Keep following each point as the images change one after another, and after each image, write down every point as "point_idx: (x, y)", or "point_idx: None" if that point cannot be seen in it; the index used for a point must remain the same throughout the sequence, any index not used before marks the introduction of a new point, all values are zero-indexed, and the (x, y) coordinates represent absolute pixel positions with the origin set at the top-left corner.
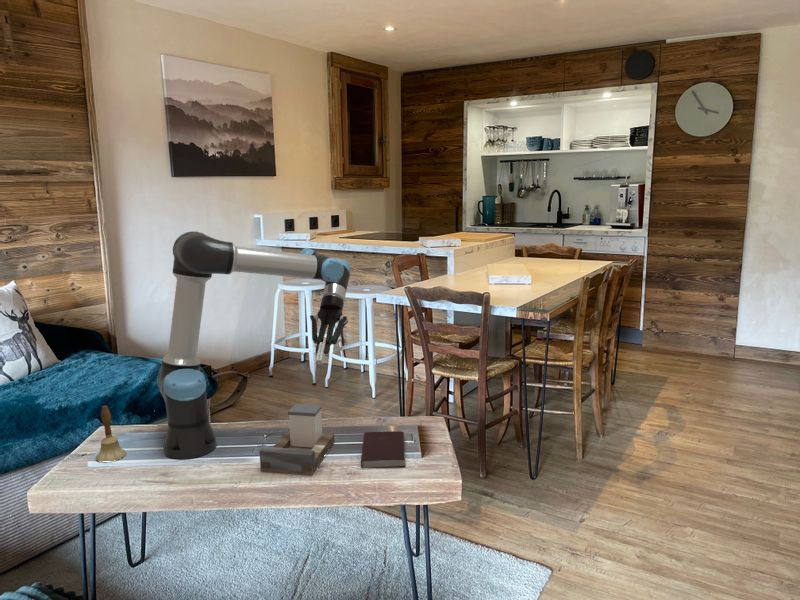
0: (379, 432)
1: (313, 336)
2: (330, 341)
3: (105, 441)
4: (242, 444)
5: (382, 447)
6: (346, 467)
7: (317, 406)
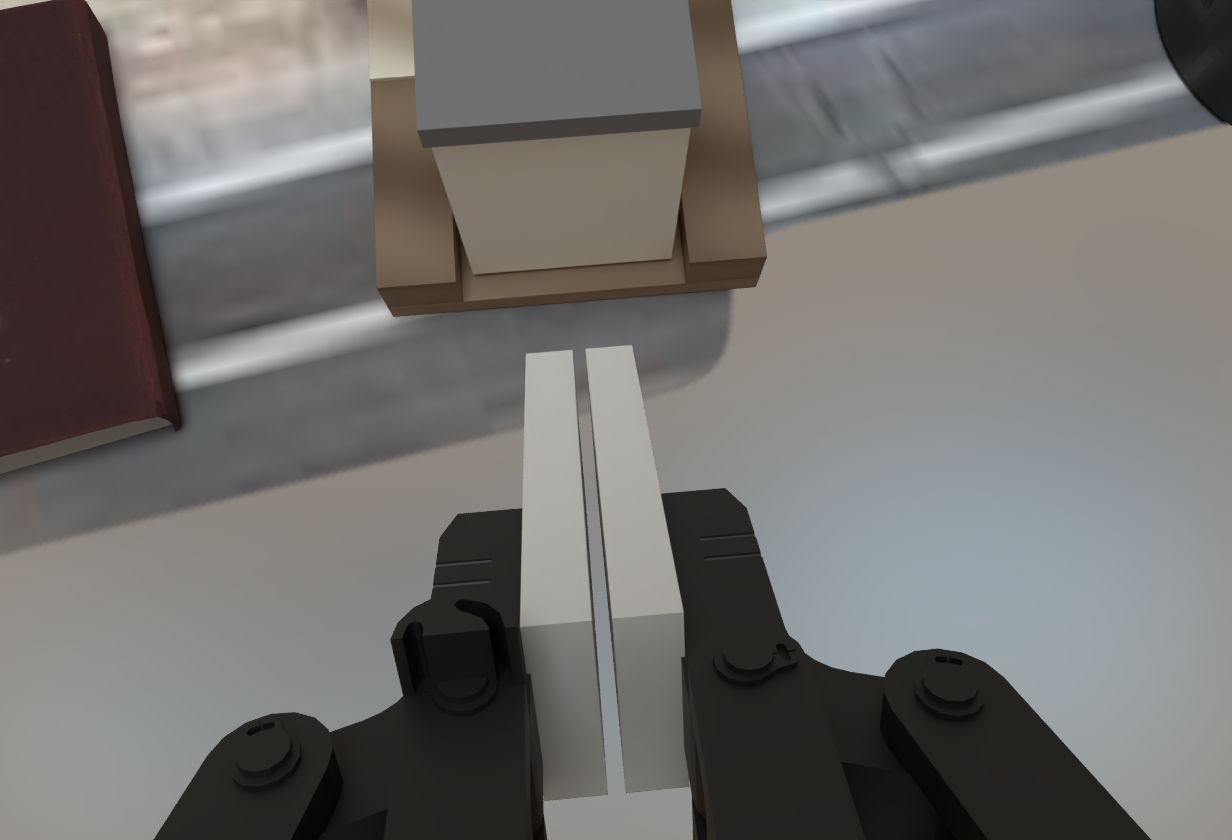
0: (27, 428)
1: (1015, 752)
2: (374, 741)
3: None
4: (1029, 143)
5: None
6: (202, 20)
7: (449, 93)
